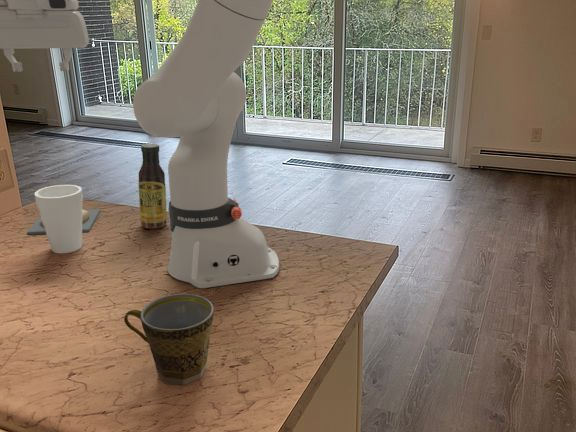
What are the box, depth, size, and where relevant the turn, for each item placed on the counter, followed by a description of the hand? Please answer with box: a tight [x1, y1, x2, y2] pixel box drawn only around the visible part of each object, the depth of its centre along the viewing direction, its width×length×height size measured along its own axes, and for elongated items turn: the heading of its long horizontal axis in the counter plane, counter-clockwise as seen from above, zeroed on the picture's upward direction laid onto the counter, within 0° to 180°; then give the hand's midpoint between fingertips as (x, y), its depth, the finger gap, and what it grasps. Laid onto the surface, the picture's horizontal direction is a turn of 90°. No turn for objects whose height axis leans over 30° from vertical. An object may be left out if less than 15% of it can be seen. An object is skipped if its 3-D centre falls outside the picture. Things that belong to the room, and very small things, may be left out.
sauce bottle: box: [138, 143, 168, 230], centre depth 131 cm, size 7×6×20 cm
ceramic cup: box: [123, 293, 215, 386], centre depth 79 cm, size 13×10×10 cm
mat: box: [26, 208, 101, 235], centre depth 136 cm, size 14×14×1 cm
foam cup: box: [34, 184, 84, 254], centre depth 120 cm, size 10×9×13 cm
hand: (41, 71), depth 116 cm, fingers open, 8 cm apart
